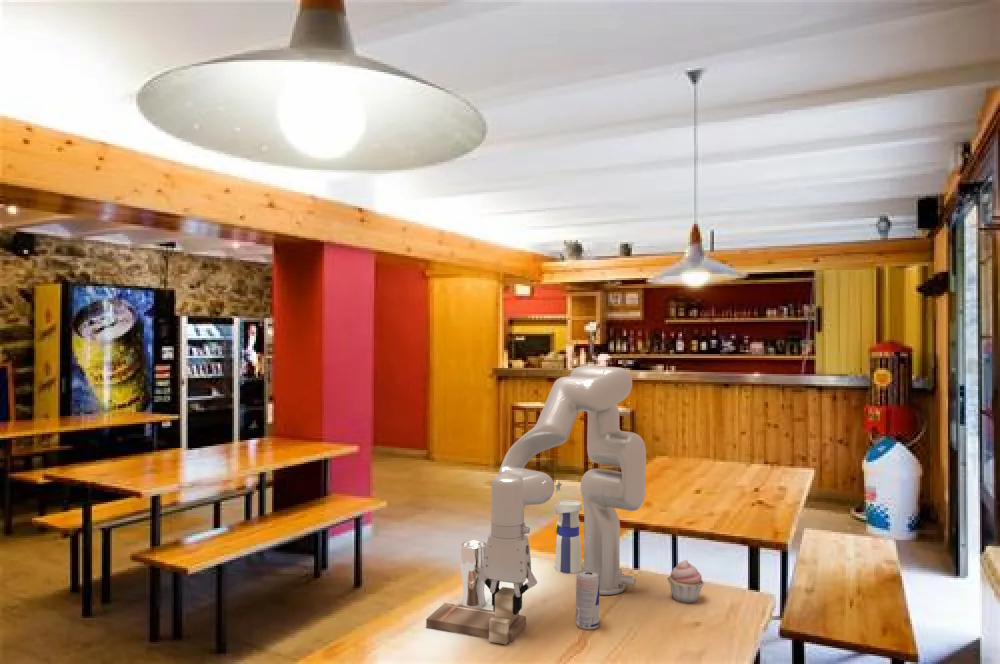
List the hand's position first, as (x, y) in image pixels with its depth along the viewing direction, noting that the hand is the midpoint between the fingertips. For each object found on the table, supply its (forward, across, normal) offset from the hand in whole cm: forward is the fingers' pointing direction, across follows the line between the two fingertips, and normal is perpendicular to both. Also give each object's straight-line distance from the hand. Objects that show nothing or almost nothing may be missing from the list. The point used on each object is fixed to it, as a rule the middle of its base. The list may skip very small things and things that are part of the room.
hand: (506, 609), depth 153 cm
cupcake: (+6, -36, -36) cm, 51 cm away
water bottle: (+5, -2, -46) cm, 46 cm away
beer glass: (+5, +14, -13) cm, 19 cm away
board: (+5, +8, -1) cm, 9 cm away
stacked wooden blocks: (+5, 0, 0) cm, 5 cm away
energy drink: (+5, -16, -11) cm, 20 cm away
